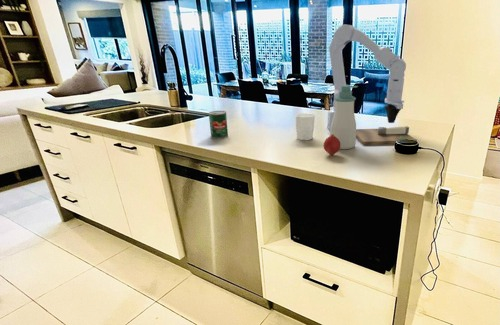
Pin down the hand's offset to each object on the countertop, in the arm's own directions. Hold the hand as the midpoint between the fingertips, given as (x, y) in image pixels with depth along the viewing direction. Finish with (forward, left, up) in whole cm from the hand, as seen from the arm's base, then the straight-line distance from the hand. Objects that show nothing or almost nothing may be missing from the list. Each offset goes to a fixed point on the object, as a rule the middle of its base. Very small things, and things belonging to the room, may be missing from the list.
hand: (391, 122), depth 128 cm
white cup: (-37, -4, -5) cm, 38 cm away
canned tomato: (-75, +3, -5) cm, 75 cm away
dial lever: (-2, -7, -3) cm, 8 cm away
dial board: (-6, -7, -5) cm, 10 cm away
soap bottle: (-24, -16, -5) cm, 29 cm away
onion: (-30, -26, -5) cm, 40 cm away
